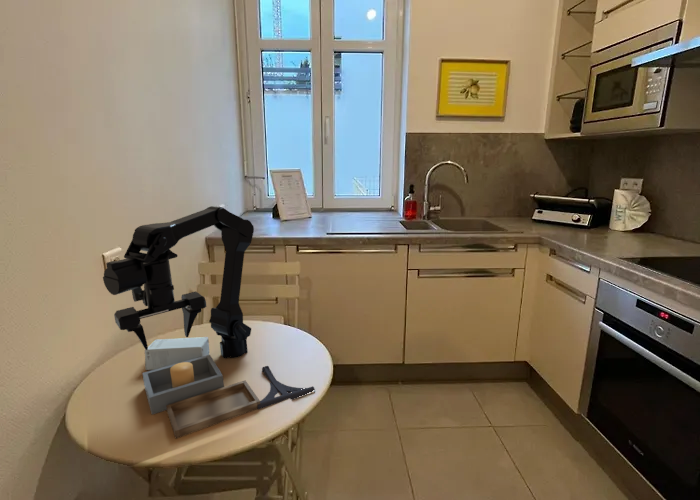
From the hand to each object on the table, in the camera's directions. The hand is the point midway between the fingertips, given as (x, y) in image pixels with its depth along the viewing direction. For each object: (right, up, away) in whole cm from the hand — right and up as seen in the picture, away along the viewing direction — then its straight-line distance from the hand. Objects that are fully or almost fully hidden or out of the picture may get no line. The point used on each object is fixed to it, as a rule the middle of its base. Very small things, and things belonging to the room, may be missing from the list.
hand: (167, 342), depth 96 cm
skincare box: (-11, -6, +14) cm, 19 cm away
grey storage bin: (+3, -13, +3) cm, 13 cm away
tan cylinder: (+3, -12, +2) cm, 13 cm away
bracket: (+25, -12, +5) cm, 28 cm away
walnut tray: (+13, -15, -5) cm, 20 cm away
